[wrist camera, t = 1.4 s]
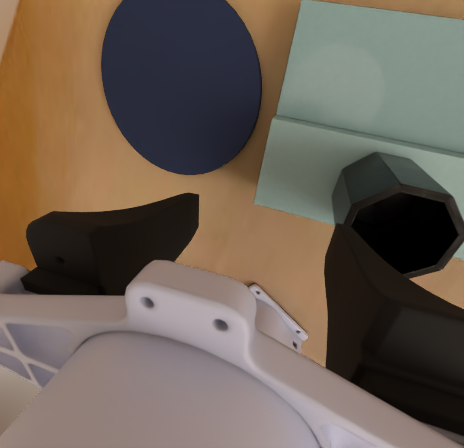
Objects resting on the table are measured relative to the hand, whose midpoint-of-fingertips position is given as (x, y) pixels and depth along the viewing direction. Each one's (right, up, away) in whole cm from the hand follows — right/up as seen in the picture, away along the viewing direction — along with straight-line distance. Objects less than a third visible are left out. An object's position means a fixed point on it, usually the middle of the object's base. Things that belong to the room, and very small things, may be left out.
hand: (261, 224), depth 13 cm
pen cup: (+8, +2, +4) cm, 9 cm away
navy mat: (-6, +11, +8) cm, 15 cm away
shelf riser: (+10, +7, +5) cm, 13 cm away
